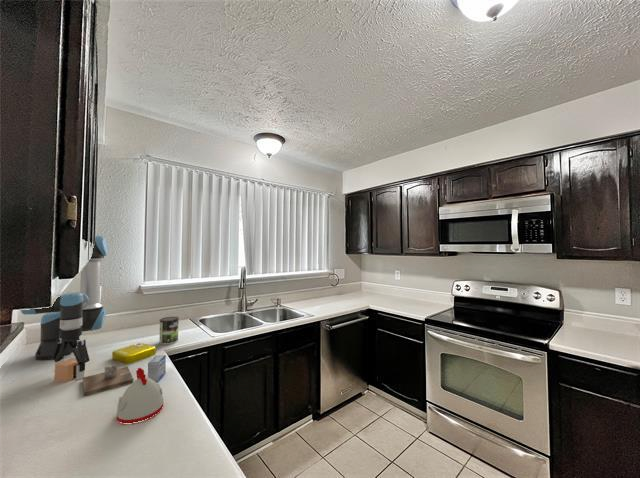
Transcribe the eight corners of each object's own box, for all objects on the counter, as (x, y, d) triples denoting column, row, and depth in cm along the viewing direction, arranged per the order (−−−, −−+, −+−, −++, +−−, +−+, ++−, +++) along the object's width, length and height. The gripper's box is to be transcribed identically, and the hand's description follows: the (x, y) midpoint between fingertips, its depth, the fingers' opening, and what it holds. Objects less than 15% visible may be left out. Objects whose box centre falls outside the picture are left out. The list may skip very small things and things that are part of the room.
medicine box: (158, 381, 117) (158, 361, 117) (147, 382, 116) (147, 362, 116) (165, 373, 124) (166, 354, 125) (155, 374, 124) (155, 355, 124)
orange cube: (54, 380, 117) (55, 363, 117) (72, 372, 124) (72, 357, 124) (67, 382, 116) (67, 365, 116) (84, 374, 123) (84, 358, 123)
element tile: (110, 360, 139) (110, 350, 139) (139, 349, 153) (140, 341, 153) (127, 365, 133) (127, 355, 133) (157, 354, 147) (157, 345, 147)
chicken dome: (155, 396, 105) (155, 358, 106) (169, 410, 97) (170, 368, 97) (111, 413, 95) (112, 370, 95) (123, 430, 86) (124, 383, 86)
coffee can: (182, 339, 168) (182, 317, 168) (168, 345, 158) (168, 321, 159) (169, 337, 171) (170, 315, 172) (155, 343, 162) (155, 319, 162)
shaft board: (84, 396, 105) (84, 379, 105) (82, 381, 117) (83, 366, 117) (133, 382, 116) (133, 367, 116) (127, 369, 128) (127, 355, 128)
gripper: (41, 328, 119) (39, 378, 119) (82, 332, 114) (81, 384, 114) (60, 323, 127) (59, 370, 126) (100, 327, 122) (99, 375, 121)
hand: (69, 377), depth 120 cm, fingers open, 11 cm apart
